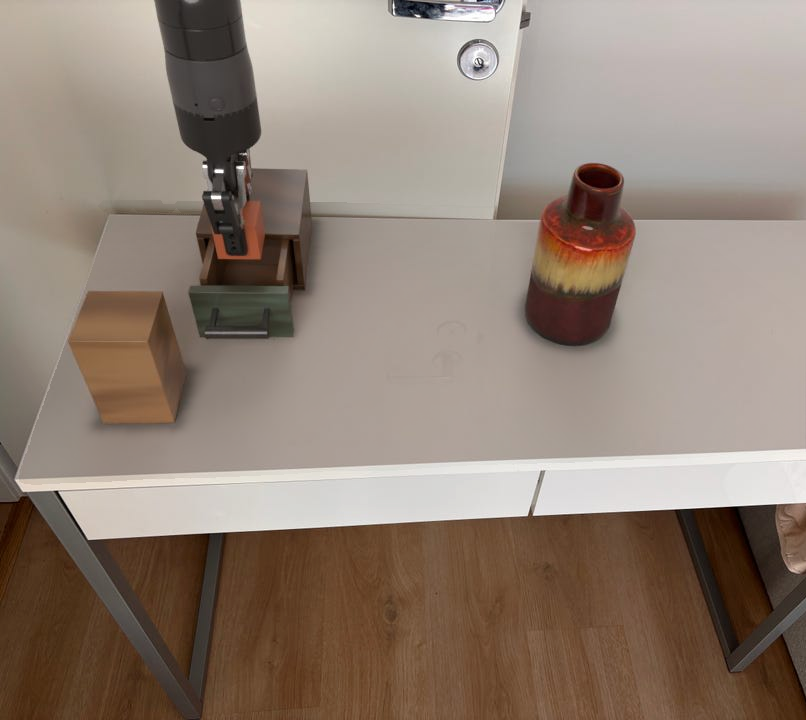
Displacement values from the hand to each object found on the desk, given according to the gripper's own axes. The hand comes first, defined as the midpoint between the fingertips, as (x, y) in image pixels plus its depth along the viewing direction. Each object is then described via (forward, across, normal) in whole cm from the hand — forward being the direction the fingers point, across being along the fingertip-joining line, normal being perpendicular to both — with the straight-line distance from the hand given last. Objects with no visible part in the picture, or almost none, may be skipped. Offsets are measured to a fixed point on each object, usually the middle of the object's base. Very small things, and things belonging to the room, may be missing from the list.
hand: (240, 238), depth 82 cm
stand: (+11, +13, -10) cm, 20 cm away
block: (+1, 0, 0) cm, 1 cm away
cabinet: (+11, -11, 0) cm, 15 cm away
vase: (+11, 0, +38) cm, 40 cm away
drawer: (+10, +1, 0) cm, 10 cm away
